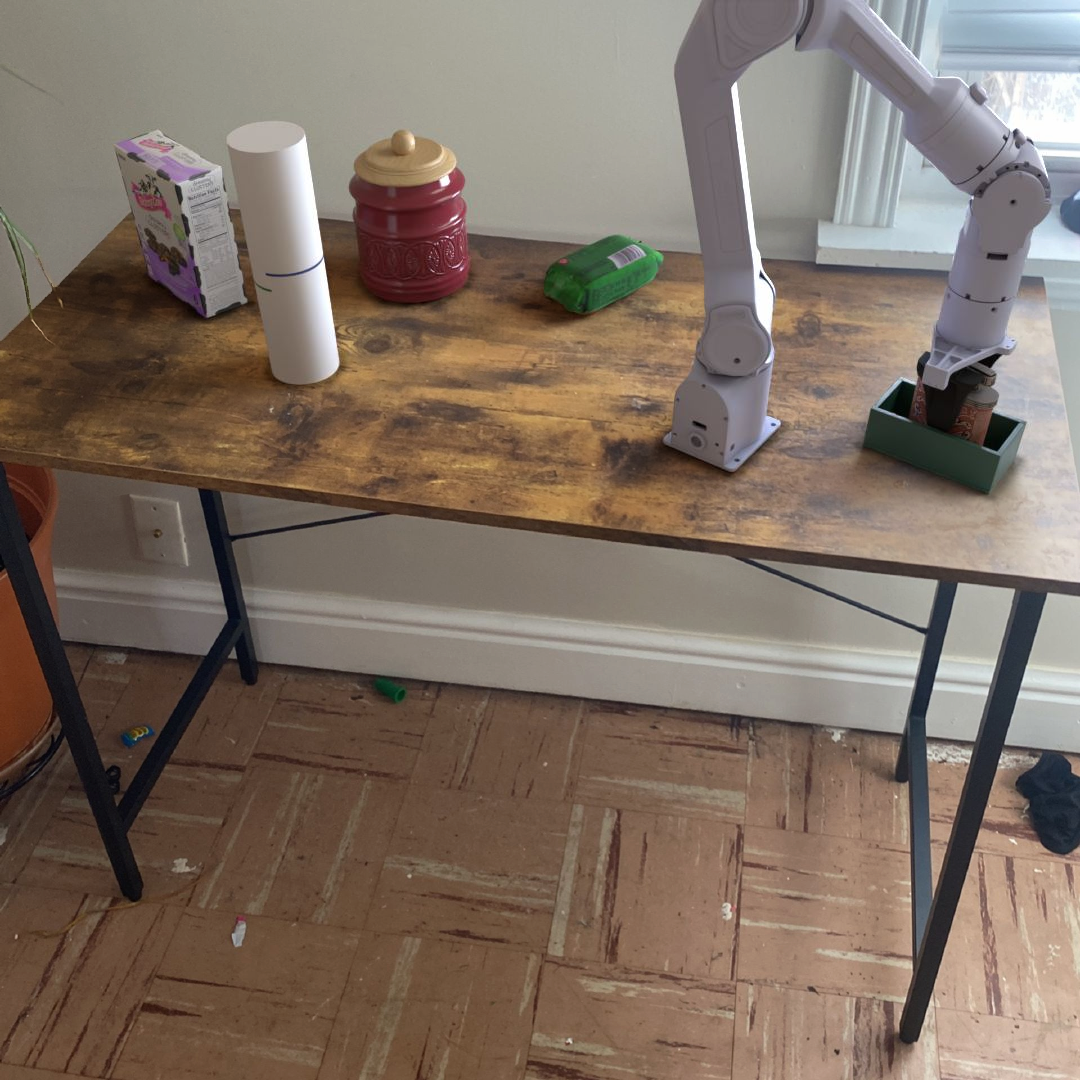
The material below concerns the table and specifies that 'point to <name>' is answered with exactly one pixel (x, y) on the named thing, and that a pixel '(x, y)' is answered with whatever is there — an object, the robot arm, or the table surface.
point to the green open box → (942, 441)
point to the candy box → (182, 222)
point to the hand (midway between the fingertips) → (947, 416)
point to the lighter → (965, 407)
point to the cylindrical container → (285, 249)
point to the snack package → (601, 273)
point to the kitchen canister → (410, 219)
